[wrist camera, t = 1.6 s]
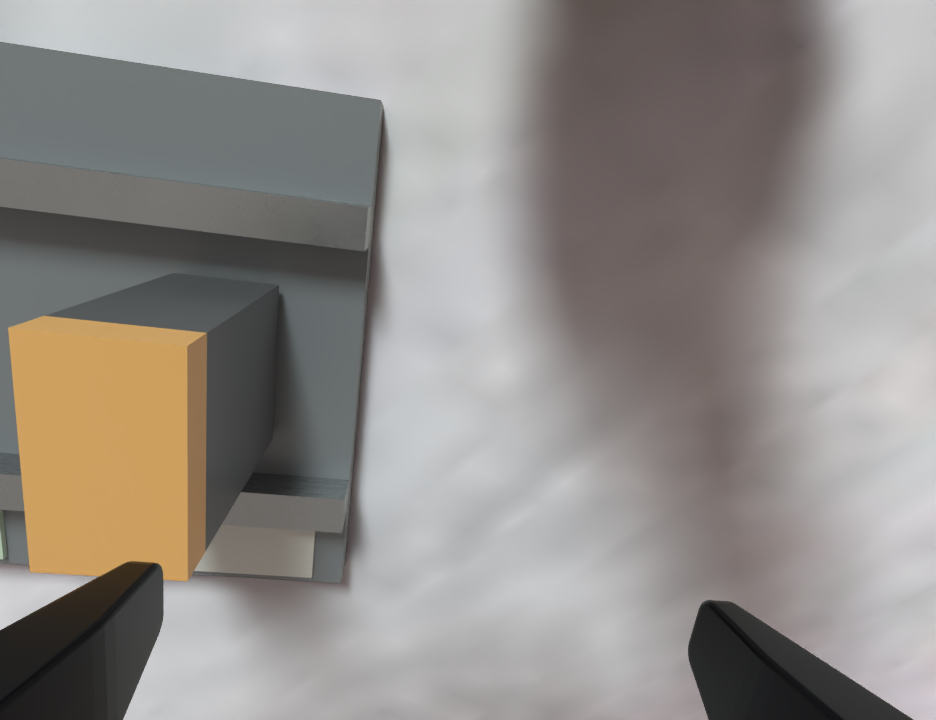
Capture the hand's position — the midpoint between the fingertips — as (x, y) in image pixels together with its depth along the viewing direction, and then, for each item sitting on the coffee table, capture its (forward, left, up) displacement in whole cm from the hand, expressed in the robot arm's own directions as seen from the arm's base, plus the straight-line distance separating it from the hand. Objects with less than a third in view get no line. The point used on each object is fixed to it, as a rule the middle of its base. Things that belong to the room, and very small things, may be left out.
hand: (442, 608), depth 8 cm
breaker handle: (+6, 0, -10) cm, 12 cm away
